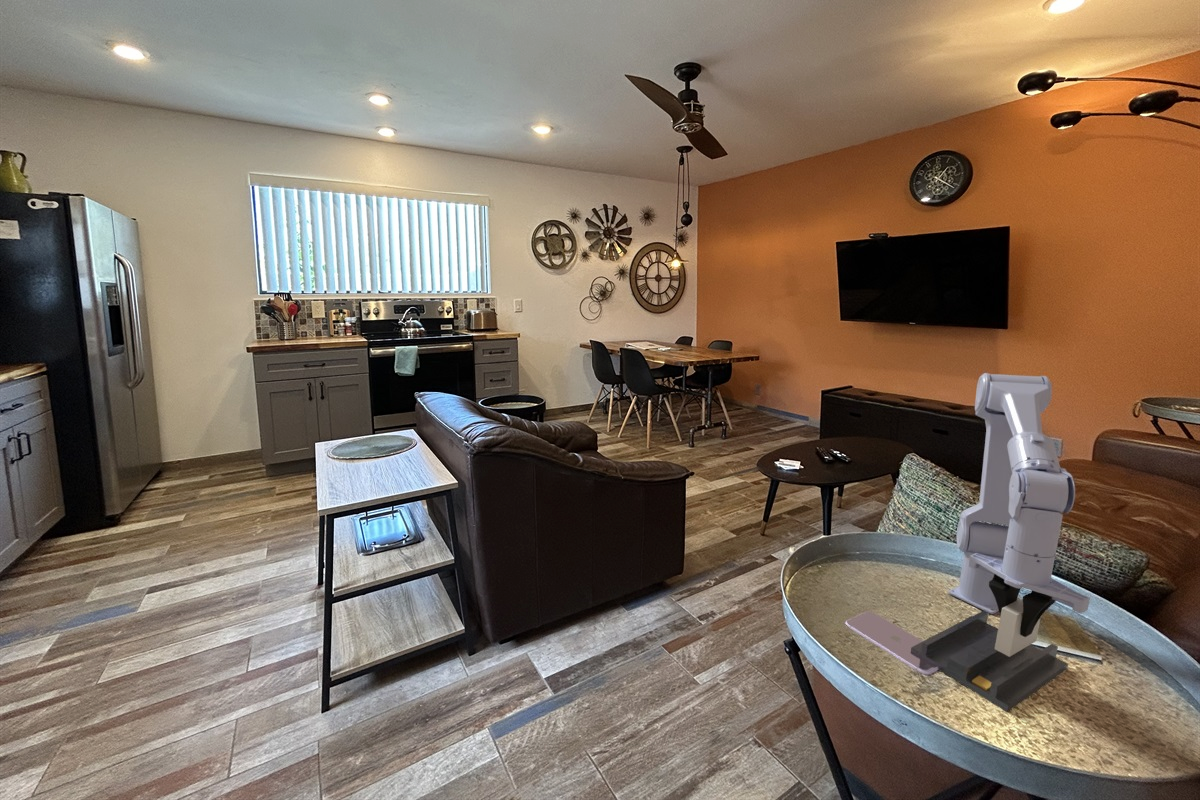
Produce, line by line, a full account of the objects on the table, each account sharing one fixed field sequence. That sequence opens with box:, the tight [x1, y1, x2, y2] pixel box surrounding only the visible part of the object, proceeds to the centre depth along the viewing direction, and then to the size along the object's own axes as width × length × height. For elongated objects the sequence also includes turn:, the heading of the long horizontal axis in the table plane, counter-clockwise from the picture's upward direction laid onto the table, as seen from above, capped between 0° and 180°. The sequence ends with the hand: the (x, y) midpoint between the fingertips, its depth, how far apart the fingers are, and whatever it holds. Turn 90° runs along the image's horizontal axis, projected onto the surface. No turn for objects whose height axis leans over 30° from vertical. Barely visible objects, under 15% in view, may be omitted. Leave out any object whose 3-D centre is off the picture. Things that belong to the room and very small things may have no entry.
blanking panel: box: [995, 597, 1042, 657], centre depth 80 cm, size 8×2×7 cm, turn 118°
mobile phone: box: [844, 610, 939, 675], centre depth 89 cm, size 8×1×15 cm
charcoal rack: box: [911, 610, 1069, 713], centre depth 84 cm, size 18×14×3 cm
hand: (1015, 629), depth 80 cm, fingers closed on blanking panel, 2 cm apart
